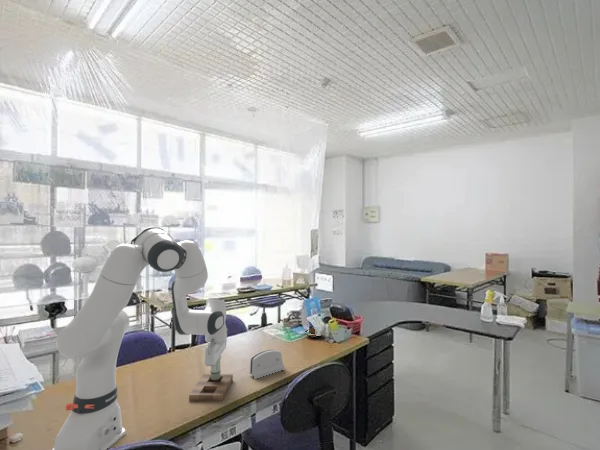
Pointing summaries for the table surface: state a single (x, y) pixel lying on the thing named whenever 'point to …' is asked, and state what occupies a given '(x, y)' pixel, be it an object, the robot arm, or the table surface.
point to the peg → (216, 374)
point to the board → (211, 388)
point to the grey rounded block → (266, 363)
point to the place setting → (311, 331)
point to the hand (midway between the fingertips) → (216, 367)
